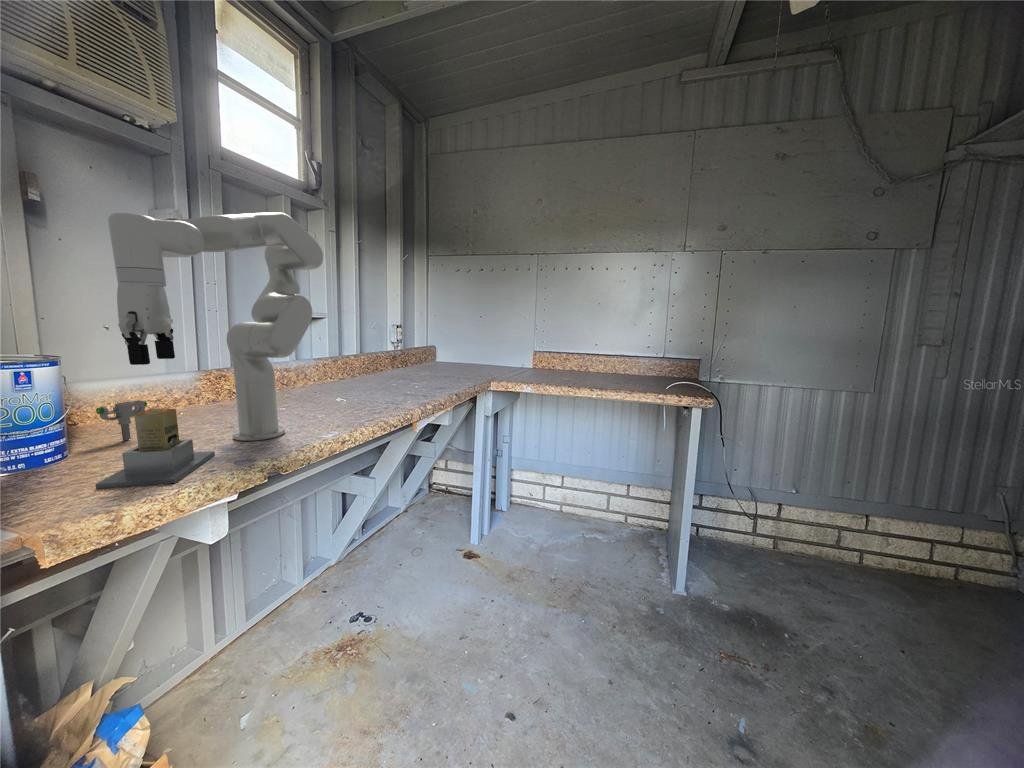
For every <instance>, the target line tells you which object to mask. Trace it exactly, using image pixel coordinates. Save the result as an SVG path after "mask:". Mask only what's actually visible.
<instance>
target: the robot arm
mask: <svg viewBox="0 0 1024 768" xmlns="http://www.w3.org/2000/svg"><path fill="white" fill-rule="evenodd" d="M107 221H108V230H109V234H110V235H109V237H110V242H111V249H112V254H113V260H114V266H115V267H114V269H115V274H116V281H117V290H116V291H117V293H116V303H117V316H118V327H119V332H120V333H121V336H122V338H123V339H124V343H125V346H126V348H127V349H126V350H127V354H128V355H127V356H128V361H129V364H130V365H132V366H134V365H136V366H138V365H143V366H145V365H150V364H151V359H150V353H149V346H148V344H149V343H148V344H146V340H147V339H148V335H153V336H154V337H155V339H156V340H154V347H155V353H156V358H157V359H158V360H164V359H165V360H167V359H168V360H170V359H171V360H172V359H173V360H174V359H175V358H176V353H175V346H174V335H173V334H174V327H173V326H174V321H173V319H172V317H171V312H170V306H169V302H168V297H167V293H166V290H165V287H167V281H166V280H167V279H166V273H165V266H164V265H165V264H164V258H190V257H195V256H197V255H199V254H201V253H224V252H225V253H226V252H234V251H241V250H247V249H254V248H259V247H265V250H264V259H265V262H266V266H267V268H268V273H269V279H268V282H267V284H266V286H265V287H264V288H263V290H262V291H261V293H260V294H259V296H258V297H257V298H256V300H255V302H254V303H253V305H252V307H251V312H250V313H251V314H250V315H251V317H252V320H253V321H242V322H237V323H235V324H233V325H232V326H231V327H230V328H228V330H227V333H226V337H225V338H226V345H227V348H228V352H229V355H230V358H231V361H232V367H233V375H234V387H235V388H234V389H235V398H236V399H235V400H236V411H237V418H238V419H237V420H238V430H235V431H234V432H233V433H232V438H233V439H234V440H236V441H241V442H242V441H243V442H245V441H247V442H250V441H251V442H254V441H262V440H263V441H264V440H269V439H274V438H276V437H277V438H278V437H280V436H282V435H283V434H285V433H286V429H285V427H283V426H282V425H281V426H280V425H279V419H278V418H279V417H278V415H279V414H278V403H277V389H276V374H275V370H274V369H275V368H274V366H273V365H272V363H271V361H270V360H269V359H271V358H272V359H284V358H287V357H290V356H291V355H292V354H293V353H294V352H295V351H296V350H297V348H298V346H299V345H300V342H301V341H302V339H303V338H304V336H305V334H306V332H307V330H308V328H309V326H310V324H311V322H312V319H313V307H312V304H311V302H310V301H309V300H308V298H306V297H305V296H304V295H301V294H300V291H301V288H300V285H299V282H298V280H297V278H296V277H295V274H294V271H297V270H298V271H299V270H301V271H302V270H304V271H305V270H309V271H311V270H316V269H319V267H321V266H322V265H323V262H324V253H323V250H322V248H321V246H320V244H319V243H318V242H317V241H316V239H315V238H313V236H312V235H311V234H310V233H308V231H307V230H306V229H305V228H304V227H303V226H302V225H300V223H298V222H297V220H296V219H294V218H293V217H291V216H290V215H288V214H286V213H284V212H277V211H276V212H255V213H254V212H253V213H251V212H250V213H239V214H237V213H236V214H235V213H233V214H219V215H218V214H217V215H208V216H201V217H194V218H192V217H191V218H184V219H183V218H182V219H170V220H169V219H161V218H153V217H151V216H148V215H144V214H138V213H132V212H113V213H111V214H110V215H109V216H108V218H107Z"/></svg>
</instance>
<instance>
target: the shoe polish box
mask: <svg viewBox="0 0 1024 768" xmlns="http://www.w3.org/2000/svg"><path fill="white" fill-rule="evenodd" d="M177 414H178V413H177V409H176V408H158V409H157V408H155V409H153V408H151V409H146V410H145V411H144V412H141V413H138V414H135V415H134V416H135V417H134V422H135V423H134V424H135V431H136V438H137V446H138V448H139V451H149V450H168V449H171V448H172V447H174V446H176V445H178V444H180V442H179V440H180V435H179V434H180V433H179V426H178V416H177Z"/></svg>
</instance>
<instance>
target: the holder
mask: <svg viewBox="0 0 1024 768" xmlns="http://www.w3.org/2000/svg"><path fill="white" fill-rule="evenodd" d="M179 442H180V444H178V445H176V446H174V447H172V448H171V449H168V450H149V451H139V448H138V445H136V446H134V447H132V448H130V449H128V450H126V451H123V452H122V453H121V454H122V462H123V469H121V470H119V471H118V472H116V473H115V472H114V473H113V474H112V475H110V476H107V477H106V478H104V479H102V480H100V481H99V482H96V483H95V484H94V485H95V489H96V490H101V489H102V488H105V489H115V488H114V487H120V488H129V487H128V486H135V487H146V486H147V485H149V486H159V485H158V484H164V485H171V484H170V483H175V484H177V483H178V482H179V481H181V480H182V479H184V478H185V477H187V476H188V475H189V474H190V472H191V473H192V472H194V471H196V470H197V468H199V467H200V466H202V465H204V464H205V463H206V462H208V461H209V460H210V459H211V457H212V458H213V457H215V455H216V454H215V451H214V450H213V451H211V450H210V451H194V443H193V439H192V438H188V439H187V438H186V439H179ZM208 459H209V460H208ZM204 462H205V463H204ZM187 474H188V475H187ZM184 476H185V477H184ZM183 477H184V478H183ZM181 478H182V479H181ZM180 479H181V480H180ZM178 480H179V481H178ZM177 481H178V482H177ZM176 482H177V483H176ZM126 486H127V487H126ZM147 487H148V486H147ZM102 490H103V489H102Z"/></svg>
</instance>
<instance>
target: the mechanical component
mask: <svg viewBox="0 0 1024 768" xmlns="http://www.w3.org/2000/svg"><path fill="white" fill-rule="evenodd" d="M113 405H114V407H113V408H112V410H109V409H108V407H107V406H100V407H97V408H95V410H96V411H95V412H96V413H97V415H99V417H100V419H102V420H106V421H110V422H111V421H118V423H117V425H119V426H120V427H121V428H120V430H121V437H122V441H123V440H124V441H125V440H129V439H131V440H132V437H131V431H130V424H132V421H131V418H133V417H134V418H135V416H134V415H135V414H138V413H141V412H144V411H146V407H147V406H148V402H147V401H146V400H139V399H138V400H131V401H124V402H117V403H114V404H113ZM133 407H134V408H133ZM112 414H115V416H111V417H109V416H108V415H112ZM129 441H130V440H129Z"/></svg>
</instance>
